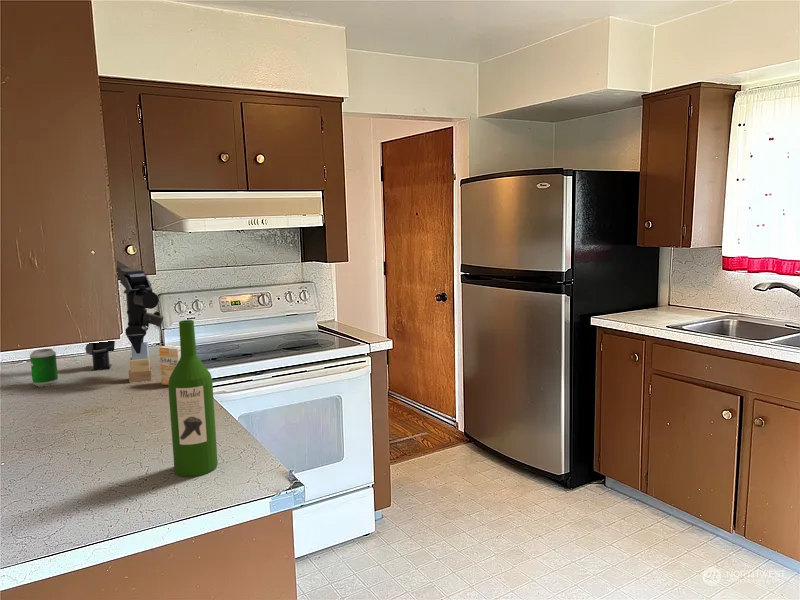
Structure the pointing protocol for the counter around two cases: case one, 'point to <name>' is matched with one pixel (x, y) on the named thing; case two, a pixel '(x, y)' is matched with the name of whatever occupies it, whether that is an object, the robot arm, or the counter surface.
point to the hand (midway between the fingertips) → (139, 350)
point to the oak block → (139, 365)
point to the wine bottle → (192, 410)
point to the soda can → (44, 367)
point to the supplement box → (168, 361)
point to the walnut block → (141, 376)
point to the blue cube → (143, 354)
